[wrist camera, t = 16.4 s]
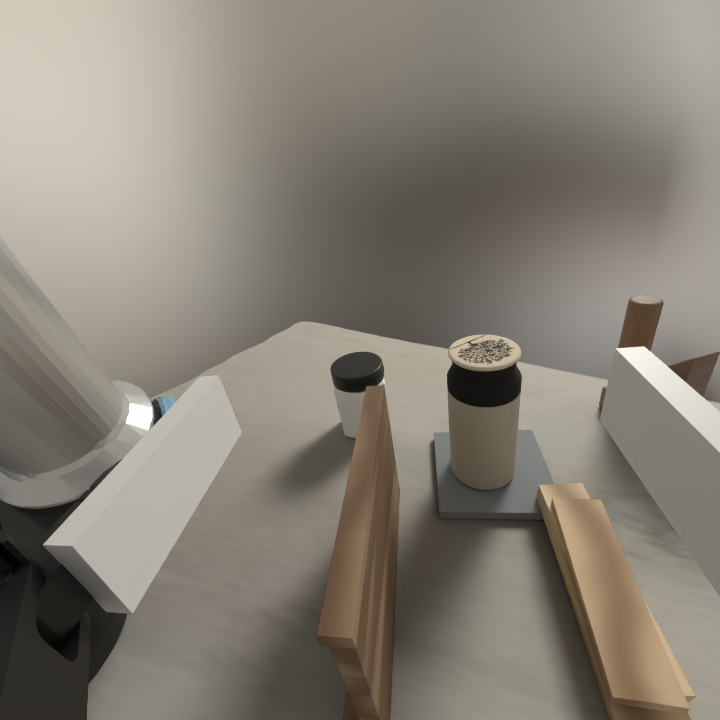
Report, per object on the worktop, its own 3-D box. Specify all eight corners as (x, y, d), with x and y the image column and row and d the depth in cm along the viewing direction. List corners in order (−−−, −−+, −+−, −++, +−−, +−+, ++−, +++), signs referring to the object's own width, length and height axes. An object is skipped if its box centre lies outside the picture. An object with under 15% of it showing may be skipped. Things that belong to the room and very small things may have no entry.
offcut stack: (608, 734, 26) (620, 719, 24) (532, 496, 43) (535, 475, 41) (700, 744, 25) (722, 729, 23) (586, 496, 42) (593, 474, 40)
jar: (357, 450, 56) (344, 386, 50) (333, 424, 63) (318, 365, 57) (403, 424, 60) (395, 362, 54) (375, 402, 66) (366, 345, 60)
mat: (439, 518, 44) (439, 512, 43) (434, 438, 56) (433, 432, 55) (564, 520, 41) (566, 513, 41) (530, 436, 53) (531, 429, 52)
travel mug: (528, 478, 45) (541, 354, 36) (472, 500, 44) (471, 377, 35) (489, 439, 52) (493, 327, 43) (440, 457, 51) (433, 344, 42)
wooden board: (344, 741, 28) (290, 633, 20) (373, 491, 49) (353, 386, 40) (389, 747, 28) (352, 638, 19) (399, 491, 48) (384, 385, 40)
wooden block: (661, 452, 47) (704, 328, 38) (597, 406, 56) (620, 297, 48) (686, 445, 48) (734, 320, 39) (618, 400, 57) (644, 291, 48)
